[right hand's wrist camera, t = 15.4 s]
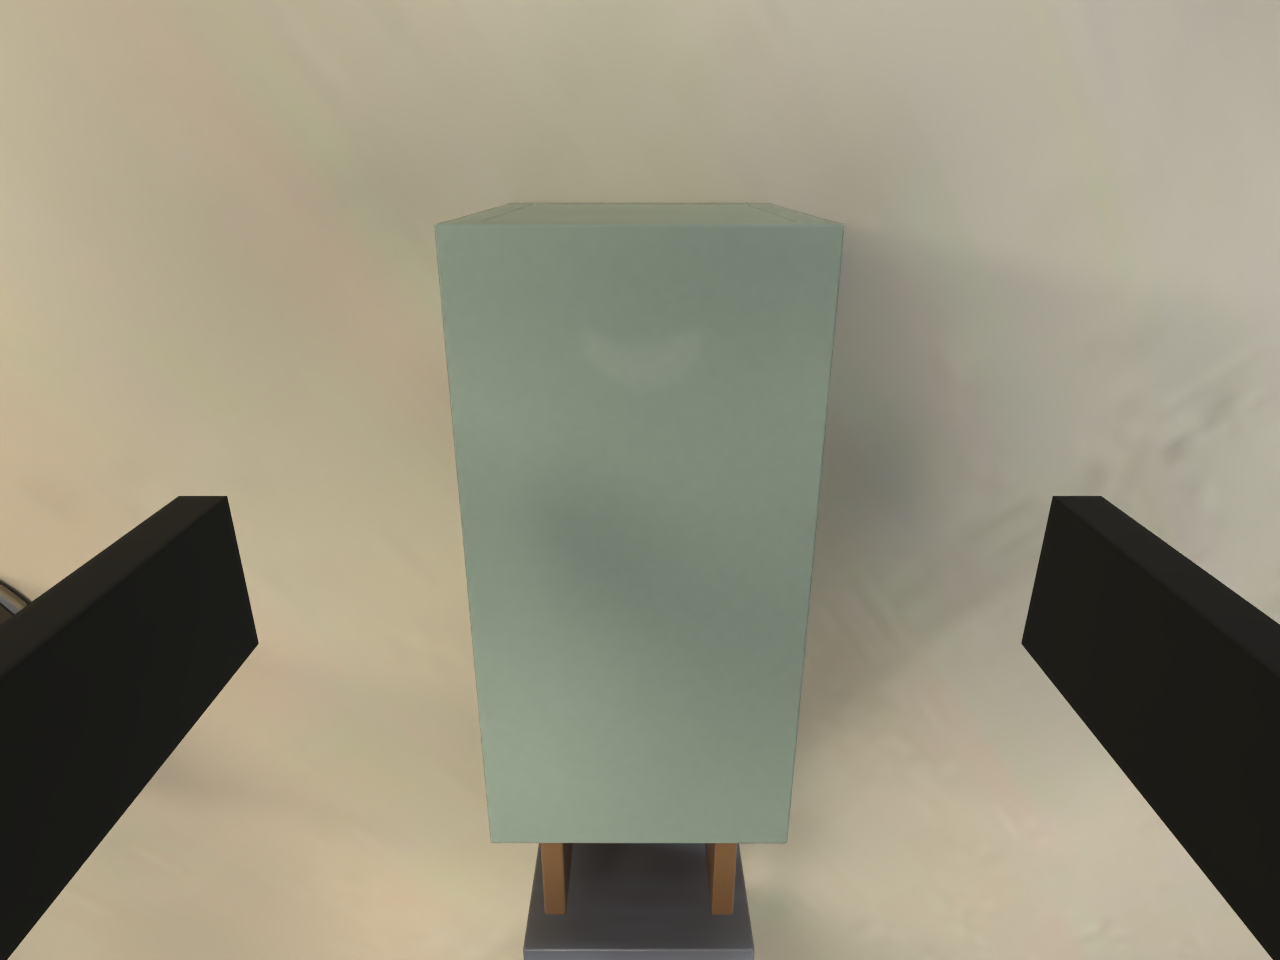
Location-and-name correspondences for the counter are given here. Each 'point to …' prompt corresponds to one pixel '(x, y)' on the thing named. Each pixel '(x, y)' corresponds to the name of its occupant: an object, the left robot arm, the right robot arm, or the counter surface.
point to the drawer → (638, 903)
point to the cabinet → (639, 507)
